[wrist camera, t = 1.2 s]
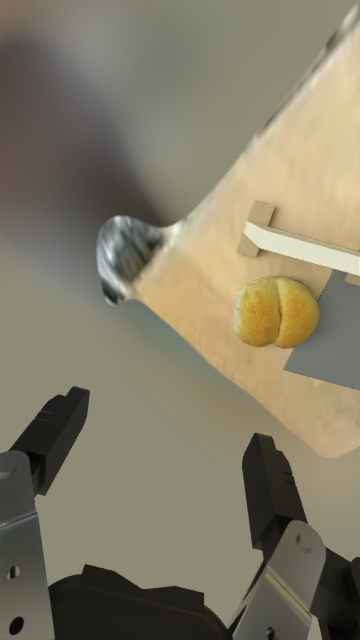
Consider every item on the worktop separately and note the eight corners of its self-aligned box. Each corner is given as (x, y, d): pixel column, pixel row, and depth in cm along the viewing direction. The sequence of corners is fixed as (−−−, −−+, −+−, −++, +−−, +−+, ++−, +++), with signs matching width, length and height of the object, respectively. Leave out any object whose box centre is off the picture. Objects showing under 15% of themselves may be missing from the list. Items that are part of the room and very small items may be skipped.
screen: (253, 201, 27) (277, 201, 18) (387, 238, 27) (479, 258, 18) (236, 250, 29) (250, 273, 20) (361, 285, 29) (431, 323, 20)
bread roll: (306, 343, 32) (318, 361, 29) (230, 338, 33) (232, 355, 29) (322, 276, 29) (338, 287, 25) (237, 272, 30) (241, 282, 26)
